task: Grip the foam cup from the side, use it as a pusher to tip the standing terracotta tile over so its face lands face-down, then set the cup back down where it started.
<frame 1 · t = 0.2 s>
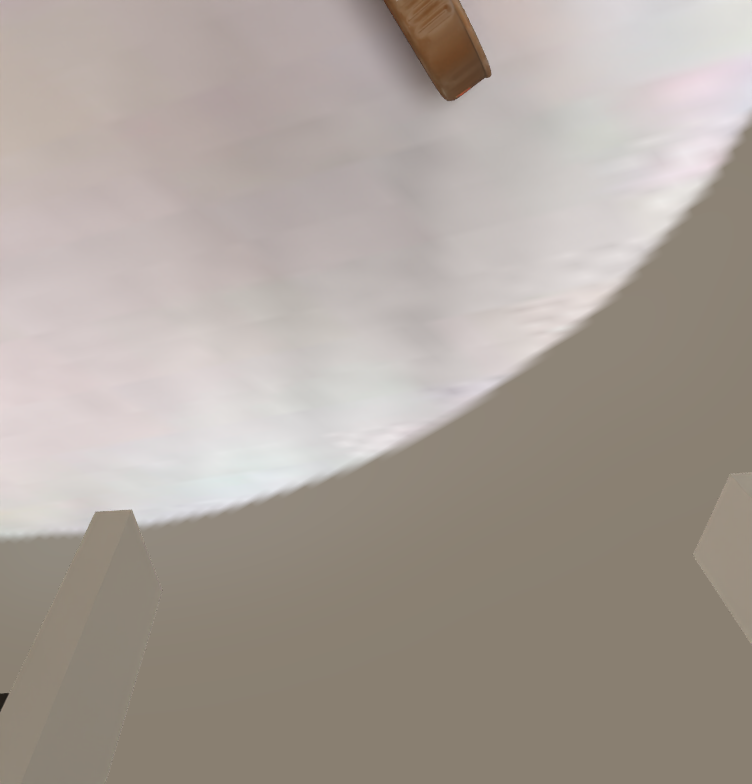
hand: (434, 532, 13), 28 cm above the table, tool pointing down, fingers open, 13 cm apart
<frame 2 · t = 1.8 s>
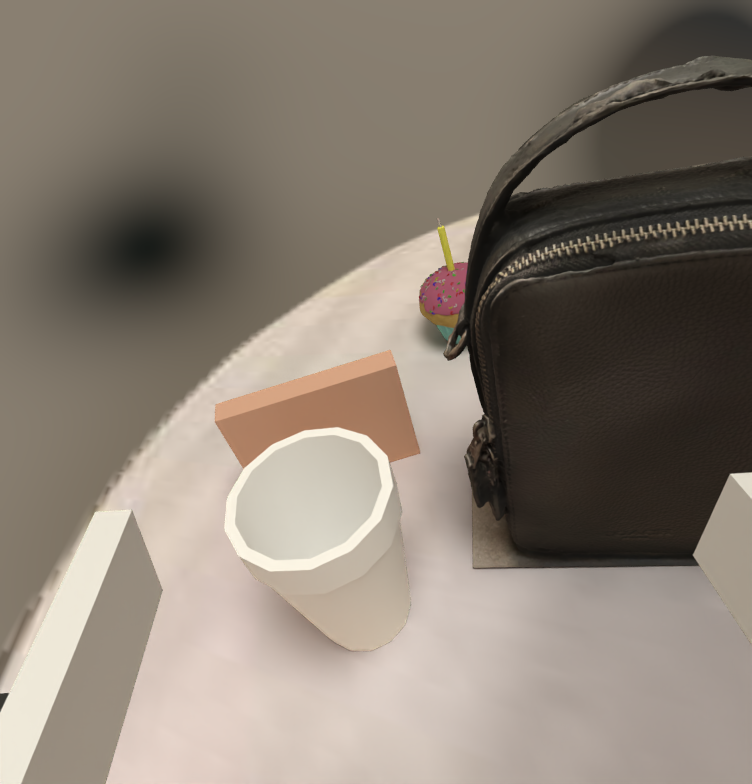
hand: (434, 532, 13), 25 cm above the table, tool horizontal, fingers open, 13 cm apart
cupcake: (466, 331, 58), on the table
shoulder bag: (634, 509, 39), on the table
foam cup: (366, 606, 39), on the table
tile: (340, 468, 48), on the table
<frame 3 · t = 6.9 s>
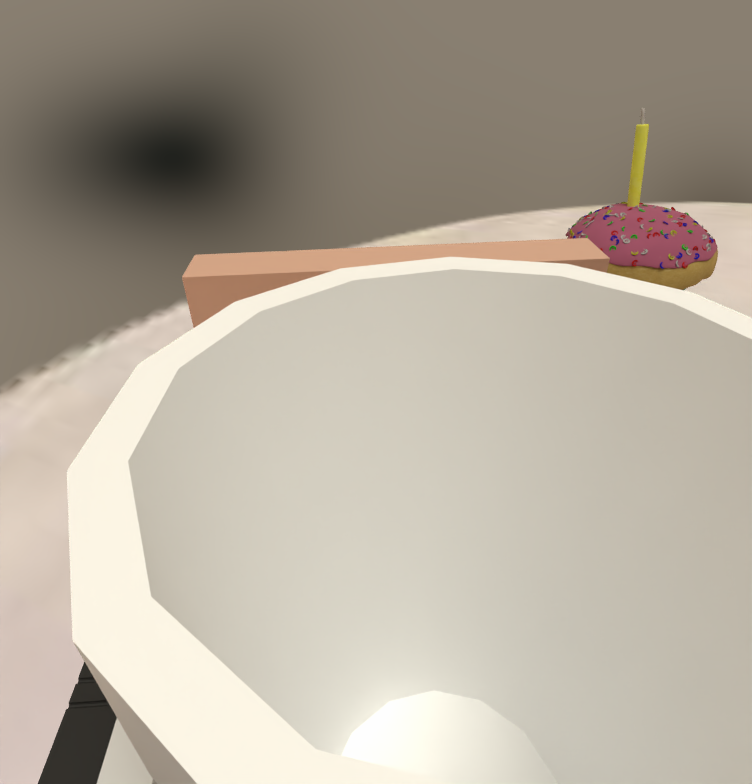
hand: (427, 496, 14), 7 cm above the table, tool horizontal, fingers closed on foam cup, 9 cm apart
cupcake: (619, 320, 36), on the table
tile: (396, 471, 25), on the table
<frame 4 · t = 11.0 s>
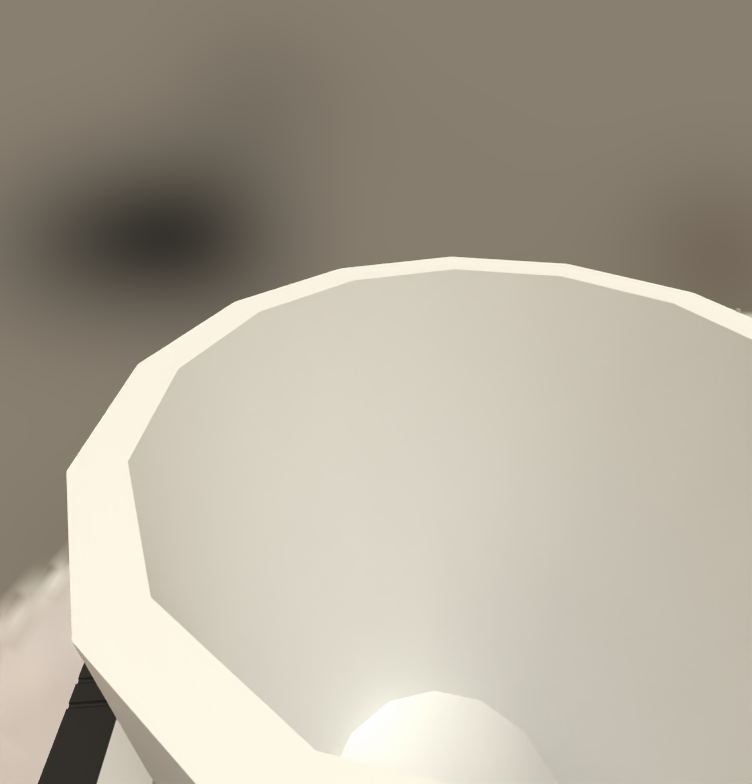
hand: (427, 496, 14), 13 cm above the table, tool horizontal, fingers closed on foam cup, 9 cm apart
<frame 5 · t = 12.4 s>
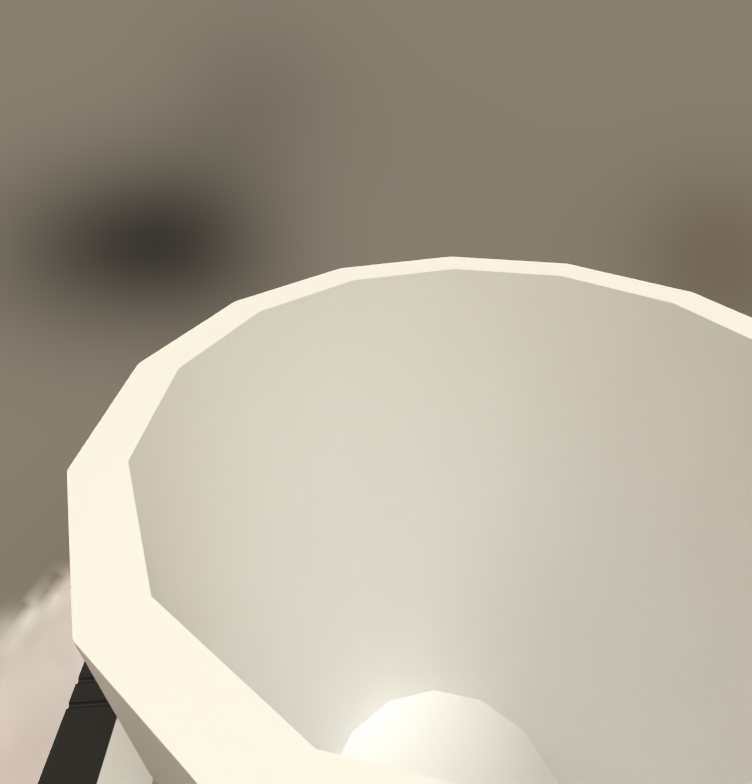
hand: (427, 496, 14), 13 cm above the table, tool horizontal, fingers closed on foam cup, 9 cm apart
when the fingers open (8 cm above the table, at t = 15.8 s): foam cup drops 1 cm, on the table.
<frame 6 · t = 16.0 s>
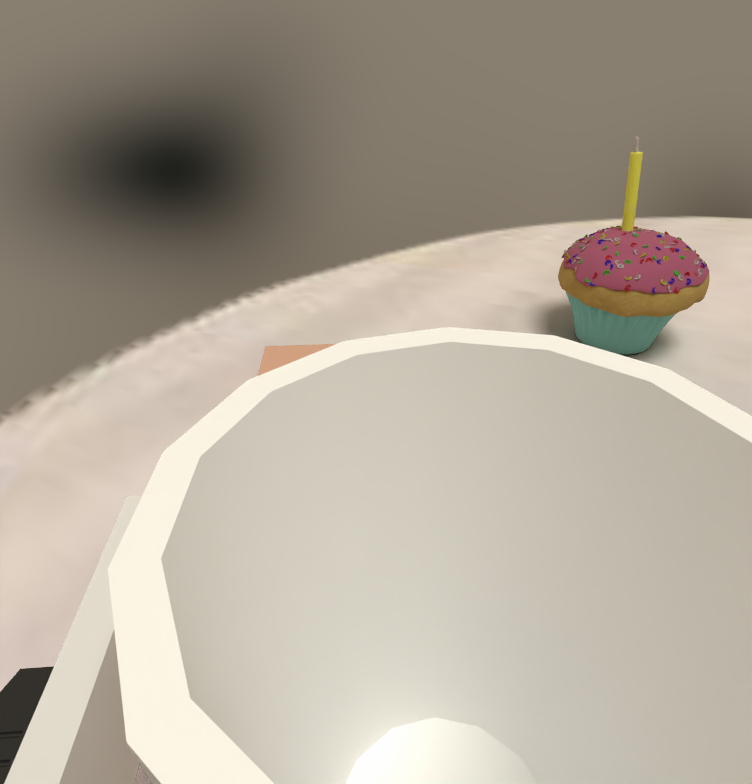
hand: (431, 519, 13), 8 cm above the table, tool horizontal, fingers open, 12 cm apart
cupcake: (613, 340, 37), on the table
tile: (393, 471, 26), point 1 cm above the table, tilted 90°
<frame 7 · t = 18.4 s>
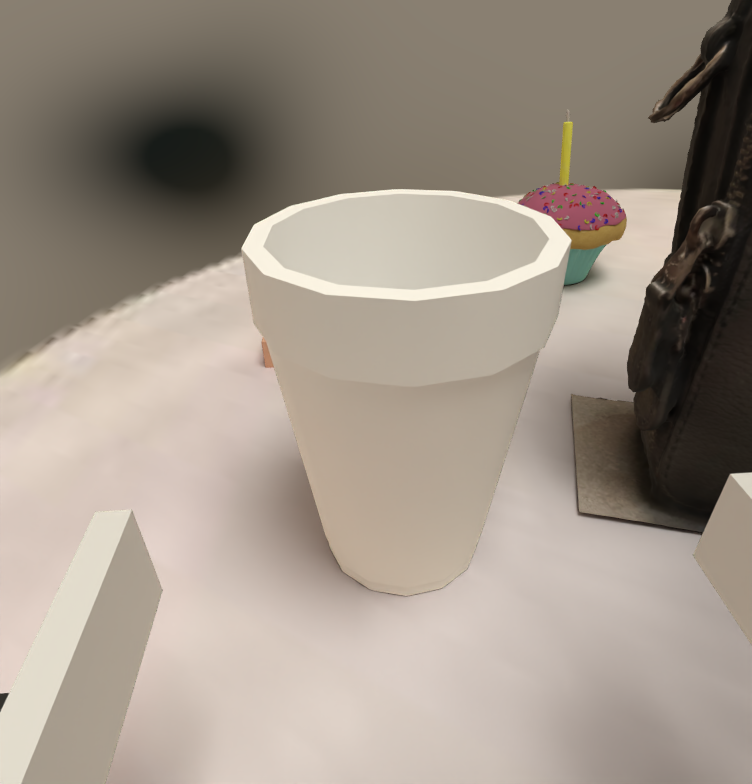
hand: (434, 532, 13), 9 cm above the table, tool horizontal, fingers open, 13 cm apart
cupcake: (557, 276, 46), on the table
foam cup: (402, 535, 24), on the table
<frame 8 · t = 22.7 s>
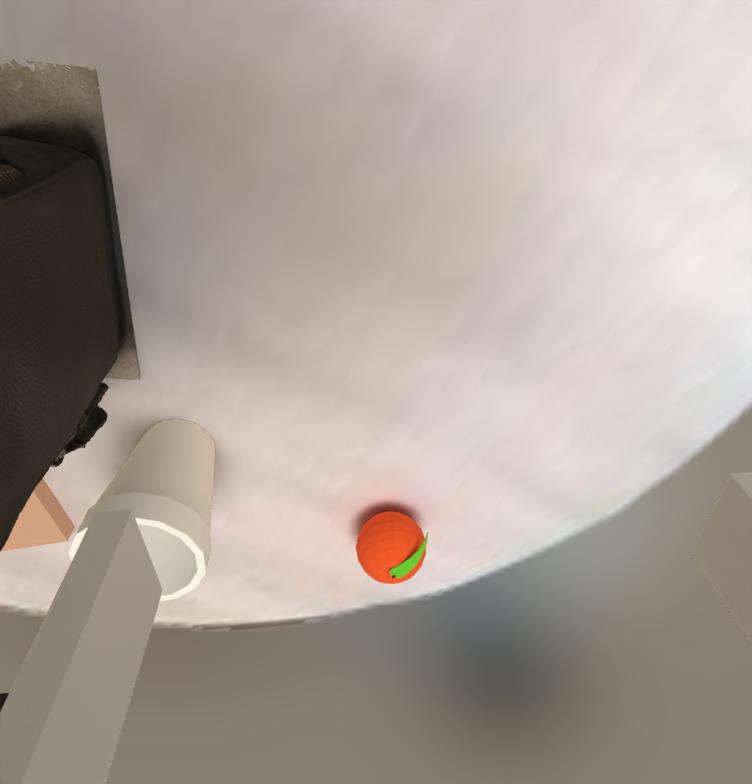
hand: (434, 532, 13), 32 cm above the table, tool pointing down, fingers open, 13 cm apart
shoulder bag: (56, 240, 40), on the table
clementine: (391, 516, 58), on the table
foam cup: (180, 445, 51), on the table
tile: (37, 480, 51), point 1 cm above the table, tilted 90°
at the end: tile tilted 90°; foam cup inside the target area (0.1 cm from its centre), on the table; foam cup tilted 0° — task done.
